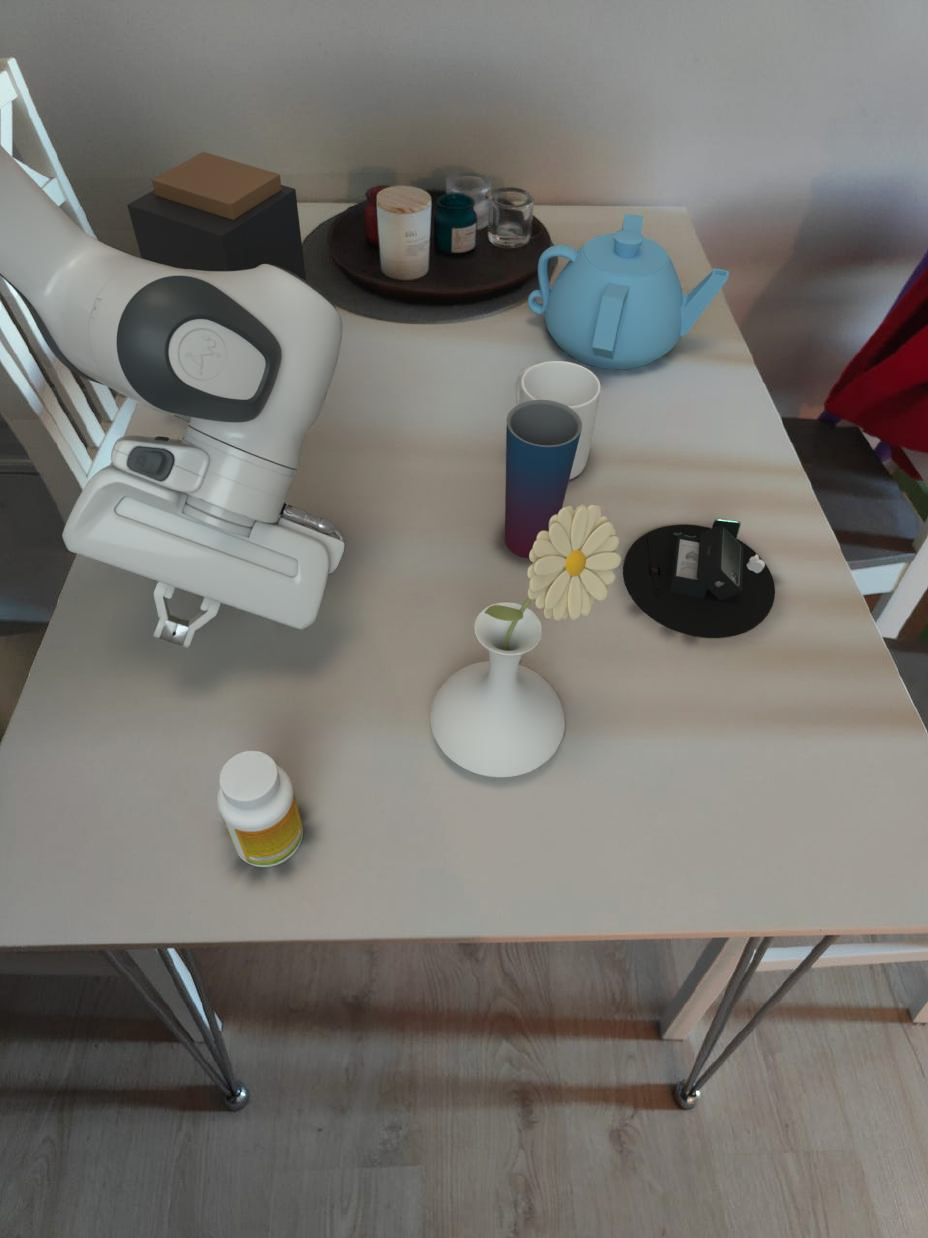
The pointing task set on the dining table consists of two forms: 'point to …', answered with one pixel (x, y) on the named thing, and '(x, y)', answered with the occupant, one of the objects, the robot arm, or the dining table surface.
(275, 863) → the supplement bottle
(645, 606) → the black round display stand
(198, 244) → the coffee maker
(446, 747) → the flower in vase
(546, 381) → the mug
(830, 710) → the dining table surface
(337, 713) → the dining table surface
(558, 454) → the cup
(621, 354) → the teapot
